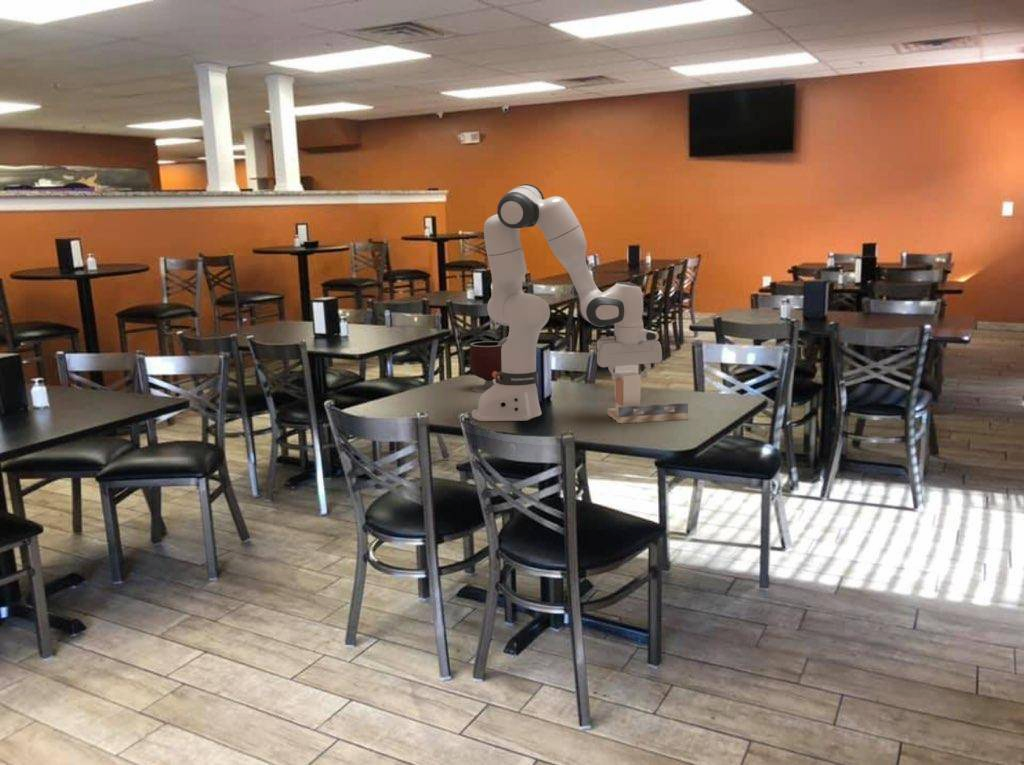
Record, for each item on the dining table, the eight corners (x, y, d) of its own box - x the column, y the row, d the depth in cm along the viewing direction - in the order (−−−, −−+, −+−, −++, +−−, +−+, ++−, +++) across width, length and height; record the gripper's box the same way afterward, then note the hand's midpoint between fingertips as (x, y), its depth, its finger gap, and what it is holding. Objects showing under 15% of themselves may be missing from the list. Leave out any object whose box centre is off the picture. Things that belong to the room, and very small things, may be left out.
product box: (614, 408, 266) (614, 371, 264) (631, 407, 267) (632, 370, 265) (622, 414, 259) (623, 376, 256) (640, 413, 260) (640, 375, 257)
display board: (619, 423, 255) (619, 407, 254) (607, 414, 267) (607, 399, 266) (687, 419, 260) (688, 403, 259) (672, 410, 271) (673, 395, 270)
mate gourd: (468, 393, 304) (467, 338, 300) (472, 386, 317) (470, 333, 313) (511, 393, 303) (510, 338, 299) (513, 385, 317) (512, 333, 313)
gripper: (599, 338, 253) (600, 383, 256) (663, 333, 257) (664, 378, 260) (593, 335, 259) (594, 379, 262) (656, 331, 263) (657, 374, 266)
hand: (629, 378), depth 261 cm, fingers open, 8 cm apart
